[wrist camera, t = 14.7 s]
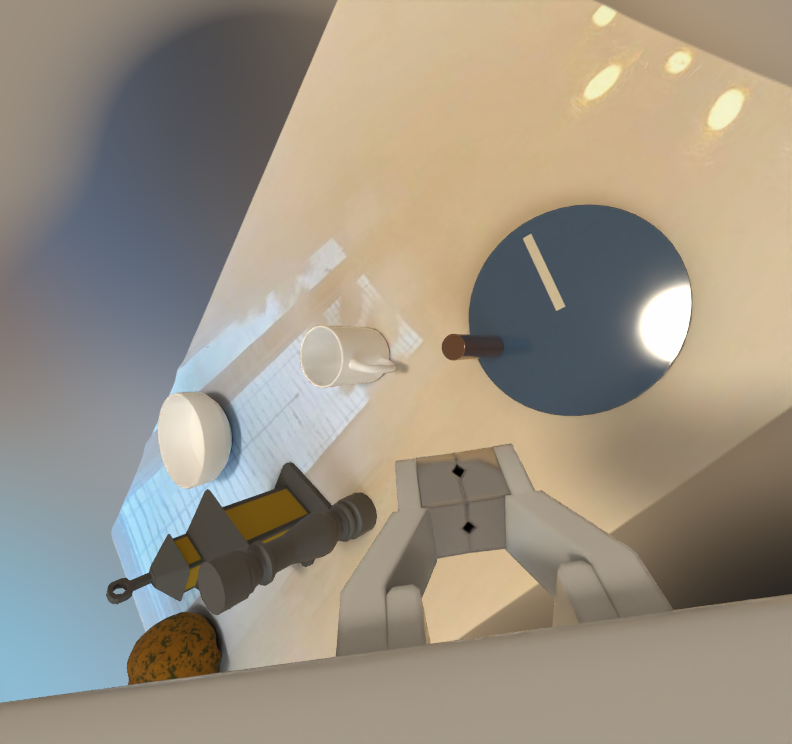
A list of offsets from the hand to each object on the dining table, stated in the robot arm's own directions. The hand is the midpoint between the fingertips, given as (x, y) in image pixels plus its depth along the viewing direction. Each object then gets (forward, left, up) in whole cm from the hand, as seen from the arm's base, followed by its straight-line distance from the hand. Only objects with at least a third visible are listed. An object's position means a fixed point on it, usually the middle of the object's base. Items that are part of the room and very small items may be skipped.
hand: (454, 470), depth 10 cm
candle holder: (+23, +37, -38) cm, 58 cm away
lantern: (+35, +47, -38) cm, 70 cm away
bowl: (+64, +48, -38) cm, 89 cm away
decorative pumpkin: (+49, +99, -38) cm, 117 cm away
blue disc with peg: (+8, -3, -38) cm, 39 cm away
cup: (+30, +13, -38) cm, 50 cm away
